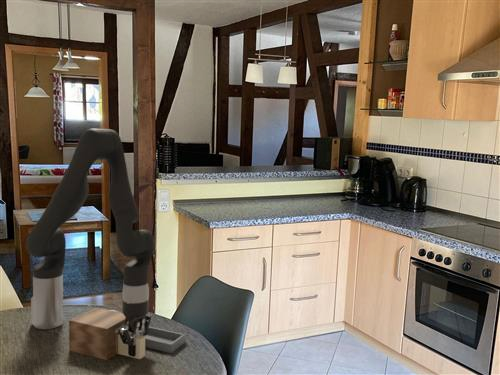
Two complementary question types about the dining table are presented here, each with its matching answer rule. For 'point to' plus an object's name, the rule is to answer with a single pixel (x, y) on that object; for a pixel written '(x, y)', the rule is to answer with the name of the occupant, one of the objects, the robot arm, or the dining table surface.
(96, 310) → the wooden block
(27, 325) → the dining table surface
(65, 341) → the dining table surface
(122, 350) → the cream rectangular block
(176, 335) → the tray
